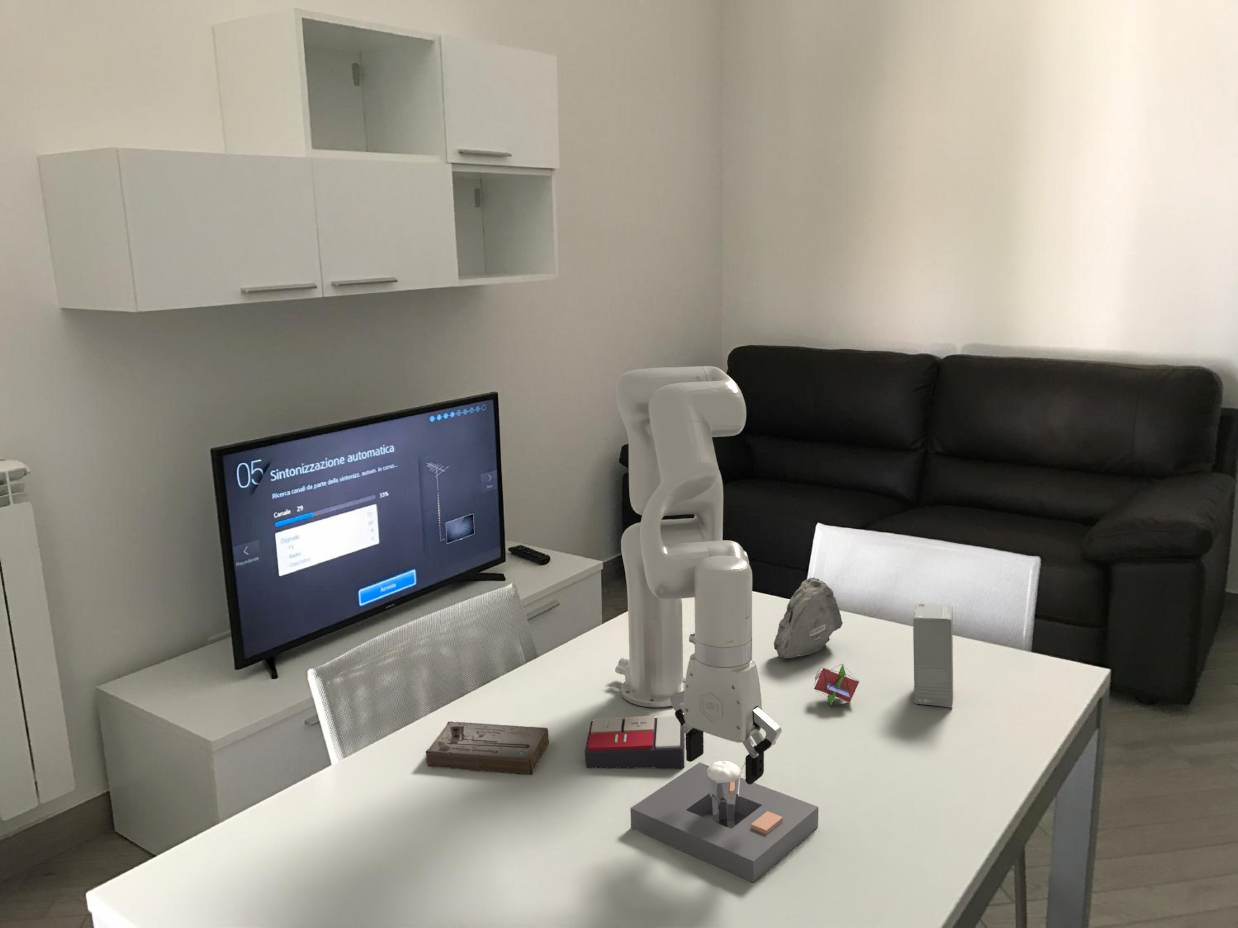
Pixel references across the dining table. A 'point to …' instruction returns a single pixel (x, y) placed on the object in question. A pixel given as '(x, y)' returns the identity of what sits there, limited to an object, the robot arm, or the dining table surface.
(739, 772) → the milkshake
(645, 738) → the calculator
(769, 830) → the socket plate
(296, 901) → the dining table surface
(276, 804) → the dining table surface
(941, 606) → the skincare box
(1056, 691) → the dining table surface
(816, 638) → the decorative rock
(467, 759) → the box
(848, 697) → the geometric puzzle
